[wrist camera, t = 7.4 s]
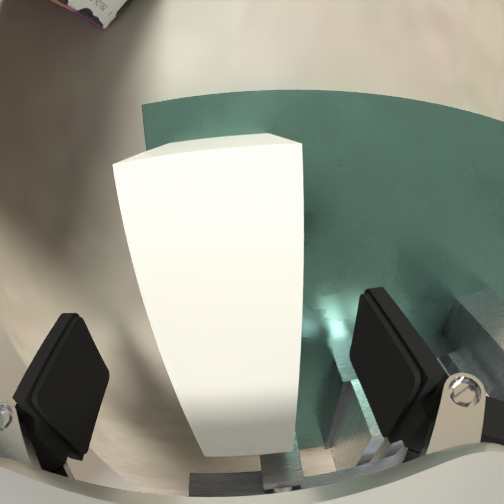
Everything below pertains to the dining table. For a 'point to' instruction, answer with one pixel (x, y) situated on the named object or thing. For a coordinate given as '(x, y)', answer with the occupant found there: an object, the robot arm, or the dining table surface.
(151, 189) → the plain white rectangular block
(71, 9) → the candy bar box
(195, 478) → the grey capped bar
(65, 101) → the dining table surface
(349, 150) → the green base metal fixture
